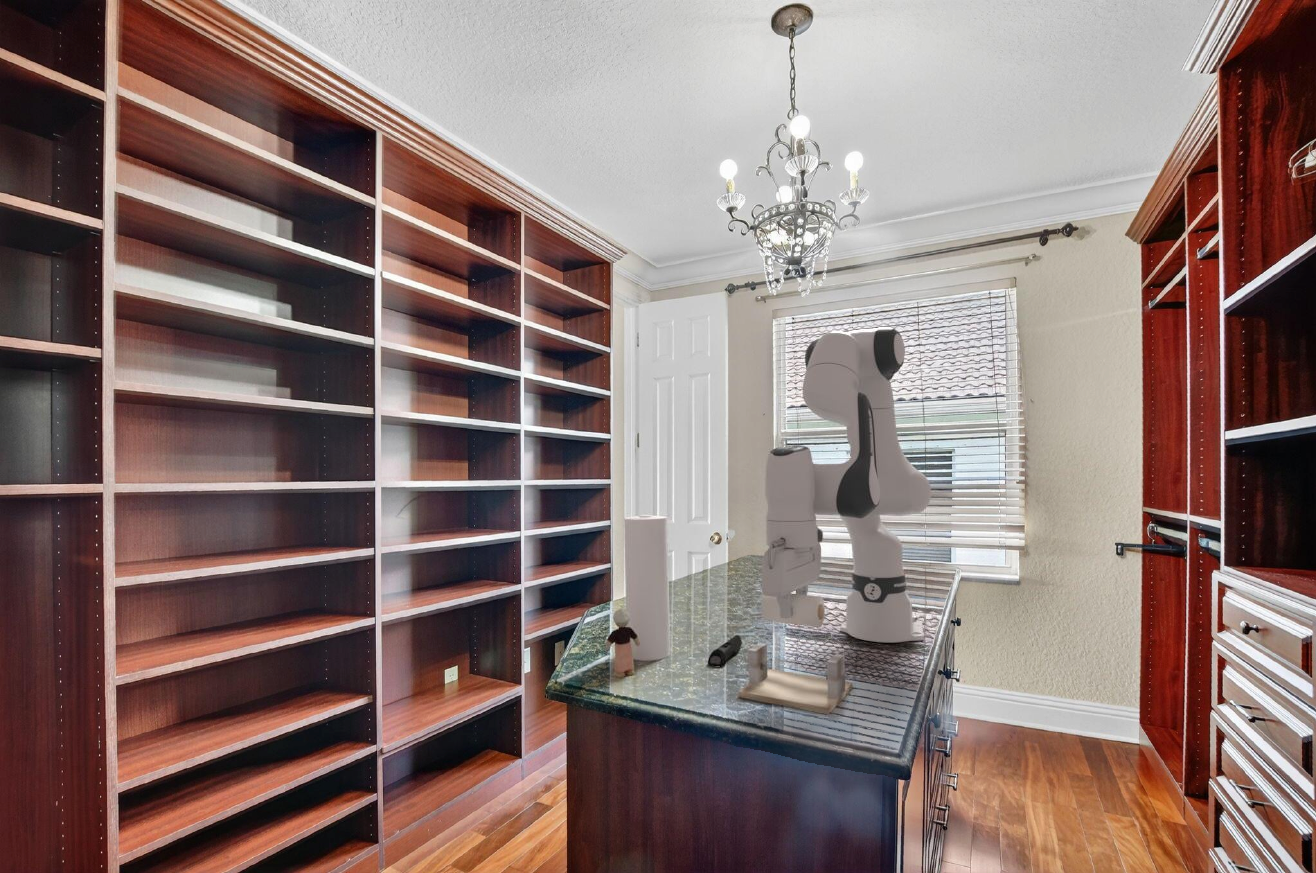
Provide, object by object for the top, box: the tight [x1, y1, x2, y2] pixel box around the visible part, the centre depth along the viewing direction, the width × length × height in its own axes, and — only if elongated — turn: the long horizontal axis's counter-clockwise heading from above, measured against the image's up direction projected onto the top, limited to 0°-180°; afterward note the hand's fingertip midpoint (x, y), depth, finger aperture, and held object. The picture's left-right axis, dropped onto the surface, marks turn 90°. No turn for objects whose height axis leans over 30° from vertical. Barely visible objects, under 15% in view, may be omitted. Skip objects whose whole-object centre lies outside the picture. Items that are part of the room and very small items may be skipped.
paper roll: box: [760, 593, 826, 628], centre depth 113 cm, size 11×5×5 cm, turn 58°
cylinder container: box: [623, 514, 671, 662], centre depth 138 cm, size 9×9×30 cm
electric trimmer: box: [707, 634, 743, 668], centre depth 135 cm, size 4×16×3 cm, turn 155°
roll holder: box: [737, 642, 854, 715], centre depth 113 cm, size 14×16×7 cm
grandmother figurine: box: [604, 608, 640, 678], centre depth 125 cm, size 8×4×13 cm, turn 135°
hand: (793, 613), depth 113 cm, fingers closed on paper roll, 5 cm apart
